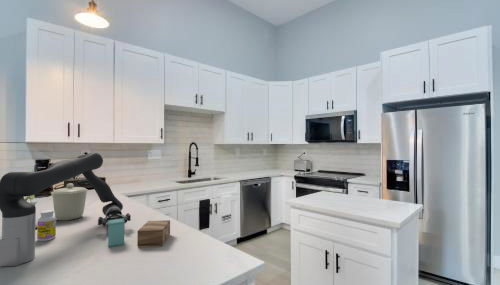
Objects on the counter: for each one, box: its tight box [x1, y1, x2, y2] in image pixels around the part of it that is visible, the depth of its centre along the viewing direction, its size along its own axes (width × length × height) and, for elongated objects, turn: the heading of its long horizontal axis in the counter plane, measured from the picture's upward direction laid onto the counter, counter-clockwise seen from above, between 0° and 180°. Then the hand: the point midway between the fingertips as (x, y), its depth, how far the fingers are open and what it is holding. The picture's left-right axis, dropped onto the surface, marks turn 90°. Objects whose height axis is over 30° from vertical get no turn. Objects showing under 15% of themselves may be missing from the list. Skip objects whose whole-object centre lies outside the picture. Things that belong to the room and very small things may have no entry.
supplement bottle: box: [36, 209, 57, 242], centre depth 115 cm, size 7×7×13 cm
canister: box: [50, 182, 89, 221], centre depth 149 cm, size 18×18×21 cm
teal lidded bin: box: [107, 218, 126, 248], centre depth 109 cm, size 6×6×10 cm
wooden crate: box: [136, 220, 171, 248], centre depth 112 cm, size 14×10×7 cm
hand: (115, 222), depth 118 cm, fingers open, 8 cm apart
